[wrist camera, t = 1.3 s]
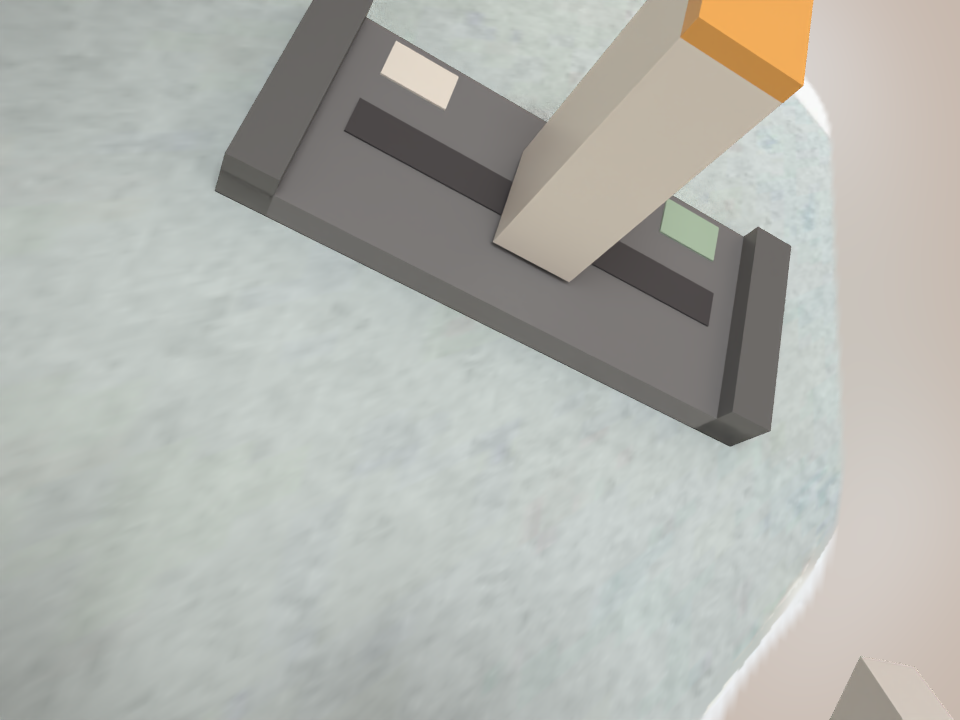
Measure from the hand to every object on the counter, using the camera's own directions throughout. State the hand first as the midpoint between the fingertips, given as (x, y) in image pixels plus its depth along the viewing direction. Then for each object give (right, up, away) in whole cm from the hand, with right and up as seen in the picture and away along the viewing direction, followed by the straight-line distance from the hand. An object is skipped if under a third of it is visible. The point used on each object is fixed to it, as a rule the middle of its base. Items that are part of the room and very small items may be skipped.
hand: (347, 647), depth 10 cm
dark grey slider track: (+4, +9, +25) cm, 27 cm away
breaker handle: (+4, +10, +24) cm, 26 cm away
